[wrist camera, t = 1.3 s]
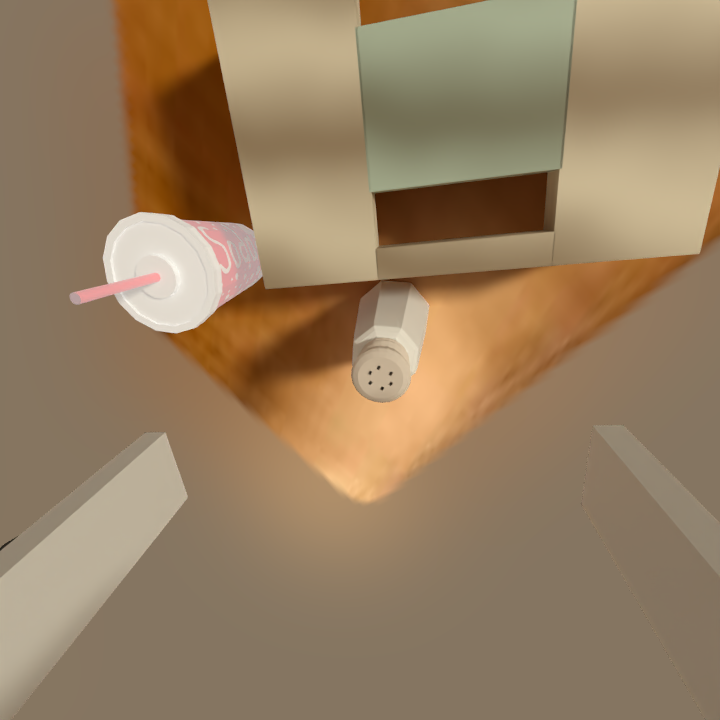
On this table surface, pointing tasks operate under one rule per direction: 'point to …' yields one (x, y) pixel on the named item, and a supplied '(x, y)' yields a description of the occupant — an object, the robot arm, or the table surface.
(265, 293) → the table surface
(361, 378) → the pepper shaker
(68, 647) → the robot arm
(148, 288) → the beverage cup
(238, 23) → the cut-out shelf
